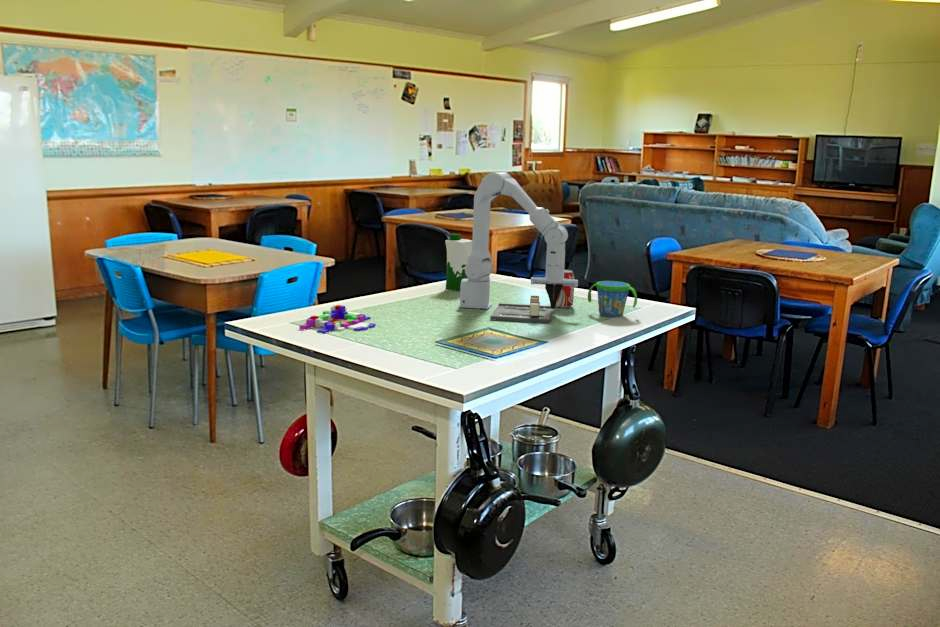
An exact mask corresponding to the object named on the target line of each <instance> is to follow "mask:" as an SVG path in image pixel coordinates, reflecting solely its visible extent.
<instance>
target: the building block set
mask: <svg viewBox="0 0 940 627" xmlns="http://www.w3.org/2000/svg"><path fill="white" fill-rule="evenodd" d="M347 310H348V309H347V308H346V305H341V304H334V305H332V306H330V310H323V311H322V314H320V315H311V316H310V317H307V318H306V320H305V322H306V323H303V324H300V325H299V330H301V329H306V330H308V329H307V328H310V329H312V328H311V327H313V328H319V327H320V328H321V329H320V328H319V329H317V330H316V333H318V332H323V333H322V334H327V333H326V332H328V333H330V332H329V331H331V332H333V331H336V332H337V331H338V332H342V331H346V329H347V330H353V331H355V332H361V331H368V330H369V329H372V328H373V329H374V328H376V323H374V322H373V323H372V322H370V323H369V322H365V321H368V320H371V317H372V316H366V314H363V313H360V312H353V311H347ZM322 326H323V327H324V328H323V327H322Z"/></svg>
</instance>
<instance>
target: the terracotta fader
mask: <svg viewBox="0 0 940 627" xmlns="http://www.w3.org/2000/svg"><path fill="white" fill-rule="evenodd" d="M529 299H530V300H529V305H530V309H531V301H539V302H540V296H539V295H530V298H529Z"/></svg>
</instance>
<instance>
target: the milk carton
mask: <svg viewBox="0 0 940 627" xmlns="http://www.w3.org/2000/svg"><path fill="white" fill-rule="evenodd" d="M461 235H462V234H461V233H450V234H449V238H448V239H446V240H445V241H444V242H445V243H444V244H445V247H446V276H445V277H446V279H445V290H447V289H448V290H447V291H454V290H455V292H460V286H461V281H462V279H468V277H467V276H466V274H465V266H466V264H467V262H468V256H469V254H470V253H471V251H472V240H471V239H467V238H466V239H465V238H462V236H461Z"/></svg>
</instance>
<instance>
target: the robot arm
mask: <svg viewBox="0 0 940 627" xmlns="http://www.w3.org/2000/svg"><path fill="white" fill-rule="evenodd" d="M499 195H505V196H508V197H511V198H512V199H514V200H515V202H517V203H518V204H519V205H520V206H521V207H522V208H523V209H524V210H525V212H526V213H527V214H528V215H529V221H530V222H531V224H532V225H534V227H535V228H536V229H537V230H538V231H539V232H540V234H542V236H544V242H545V243H546V256H545V258H546V260H545V276H544V277H535V276H534V277H533V276H532V277H530V285H543V286H544V288H545V291H546V293H547V296H548V300H549V303H550V305H549V306H551V308H553V309H554V310H555V309H556V308H557V307H556V302H557V299H558V296H559V294H560V292H561V290H562V288H563V286H574V288H578V286H579V280H578V279H575V278H574V279H565V278H564V270H565V262H566V260H565V258H566V241H567V240H568V238H569V233H568V230H567V228H566V227H565V226H564V225H561V224H560V222H559V221H558V220H557V221H556V220H555V219H554V217H553V216H552V215H551V214H550V210H549V209H548V208H546V209H545V208H544V207H542V206H541V207H540V206H539V207H538V206H537V205H536V203H535V202H534V200H532V198H530V196H529V195H528V194H527V192H525V190H524V189H523V187H521V184H519V183H518V181H517V180H516V179H515V178H513V177H512V175H511V174H510V173H508V172H506V171H500V172H490V173H488V174H485V176H483V177H482V178H481V182H480V184H479V186H478V188H477V189H476V191H475V193H474V196H473V217H472V251H471V253H470V254H469V256H468V262H467V264H466V266H465V274H466V276H467V277H468V279H462V281H461V286H460V291H459V308H467V309H481V308H482V309H484V310H488V308H489V309H490V307H491V306H492V305H493V304H492V302H490V287H491V286H490V285H491V284H490V283H491V277H490V275H491V274H492V273H493V270H494V265H493V261H492V255H491V253H490V249H489V248H490V247H489V246H490V245H489V242H490V225H491V224H490V221H491V220H490V219H491V218H490V216H491V202H492V201H493V200H494V199H495V198H497V196H499ZM558 283H560V284H558ZM554 285H555V286H554ZM553 295H554V301H553Z"/></svg>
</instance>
